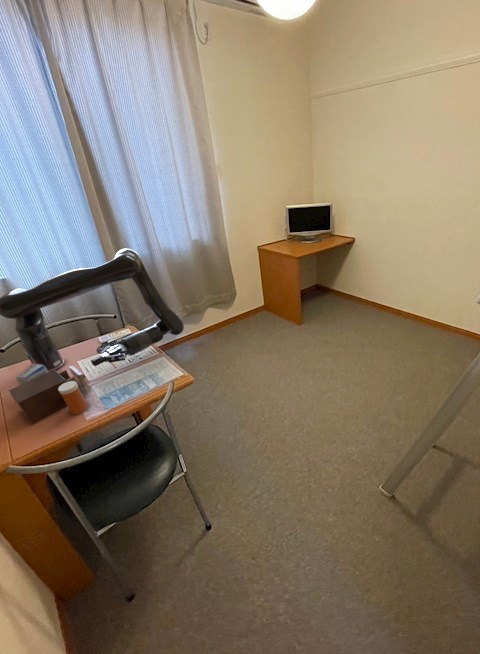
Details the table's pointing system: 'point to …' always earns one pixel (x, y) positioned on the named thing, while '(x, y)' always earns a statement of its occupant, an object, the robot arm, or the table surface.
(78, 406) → the pill bottle
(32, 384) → the dark brown box
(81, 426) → the table surface
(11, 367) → the table surface
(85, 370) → the table surface
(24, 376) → the medicine box
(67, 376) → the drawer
